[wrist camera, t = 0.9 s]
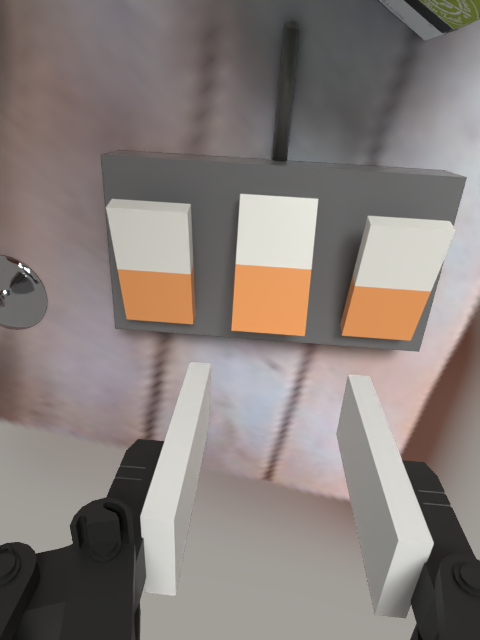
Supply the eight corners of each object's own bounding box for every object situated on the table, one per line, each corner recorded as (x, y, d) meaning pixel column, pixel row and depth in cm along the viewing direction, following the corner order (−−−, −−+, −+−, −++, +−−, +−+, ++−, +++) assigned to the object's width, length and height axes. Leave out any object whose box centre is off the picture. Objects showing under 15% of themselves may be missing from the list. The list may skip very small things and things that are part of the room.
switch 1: (115, 193, 27) (106, 207, 26) (192, 198, 27) (187, 212, 26) (133, 302, 33) (126, 319, 32) (197, 307, 33) (193, 324, 32)
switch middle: (241, 196, 29) (240, 193, 27) (314, 201, 29) (318, 198, 27) (233, 324, 31) (231, 330, 29) (302, 329, 31) (304, 336, 29)
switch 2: (365, 209, 27) (370, 224, 25) (445, 214, 27) (455, 230, 25) (339, 317, 33) (341, 335, 31) (404, 322, 32) (410, 340, 31)
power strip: (110, 12, 28) (87, -3, 24) (478, 31, 27) (510, 18, 24) (130, 308, 37) (115, 328, 34) (404, 328, 37) (419, 351, 33)
